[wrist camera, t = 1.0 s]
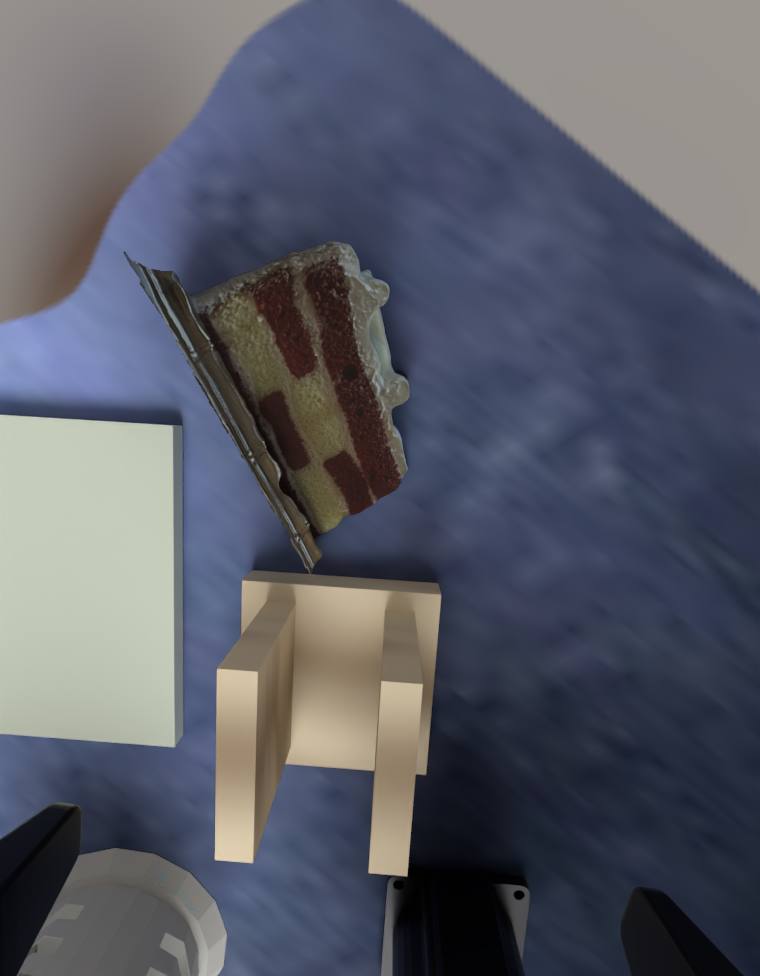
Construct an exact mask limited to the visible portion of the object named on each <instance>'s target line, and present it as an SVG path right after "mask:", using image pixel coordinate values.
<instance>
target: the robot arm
mask: <svg viewBox="0 0 760 976" xmlns="http://www.w3.org/2000/svg"><path fill="white" fill-rule="evenodd" d="M81 837H82V809H81V808H80V806H79V805H75V804H68V803H61V802H56V803H53V804H51V805H49V806H47V807H45V808H44V809H43V810H41V811H40V812H38V813H37V814H35V815H34V816H33V817H31V818H30V819H28V820H27V821H25V822H24V823H23V824H21V825H20V826H18V827H17V828H15V829H14V830H13V831H11V832H10V833H8V834H7V835H5V836H4V837H3V838H1V839H0V976H17V975H18V973H19V971H20V969H21V967H22V965H23V963H24V961H25V959H26V957H27V955H28V953H29V951H30V950H31V948H32V946H33V944H34V942H35V940H36V938H37V936H38V934H39V932H40V930H41V928H42V927H43V925H44V923H45V921H46V919H47V917H48V915H49V913H50V911H51V909H52V907H53V905H54V903H55V902H56V900H57V898H58V896H59V894H60V892H61V890H62V888H63V886H64V884H65V882H66V880H67V879H68V877H69V875H70V873H71V871H72V869H73V867H74V865H75V863H76V861H77V858H78V856H79V853H80V849H81ZM397 880H400V881H397ZM517 890H518V891H517ZM529 901H530V891H529V888H528V885H527V882H526V881H525V880H524V879H523V878H521V877H515V876H503V875H491V874H479V873H467V872H455V871H443V870H431V869H419V868H408V874H407V876H397V875H388V878H387V892H386V906H385V919H384V933H383V947H382V961H381V976H525V974H524V970H523V966H522V957H523V949H524V941H525V933H526V925H527V917H528V909H529ZM621 938H622V943H623V947H624V950H625V954H626V958H627V961H628V965H629V968H630V972H631V975H632V976H743V975H742V974H741V972H740V971H739V970H738V969H737V968H736V967H735V966H734V965H733V964H732V963H731V962H730V961H729V960H728V959H727V958H726V957H725V956H724V955H723V953H722V952H721V951H720V950H719V949H718V948H717V947H716V946H715V945H714V944H713V943H712V942H711V941H710V940H709V939H708V938H707V937H706V935H705V934H704V933H703V932H702V931H701V930H700V929H699V928H698V927H697V926H696V925H695V924H694V923H693V922H692V921H691V920H690V919H689V917H688V916H687V915H686V914H685V913H684V912H683V911H682V910H681V909H680V908H679V907H678V906H677V905H676V904H675V903H674V902H673V901H672V900H671V898H670V897H669V896H667V895H666V894H665V893H664V892H662V891H660V890H657V889H652V888H645V887H637V888H635V889H634V890H633V892H632V894H631V897H630V899H629V902H628V905H627V907H626V910H625V913H624V915H623V918H622V921H621Z"/></svg>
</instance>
